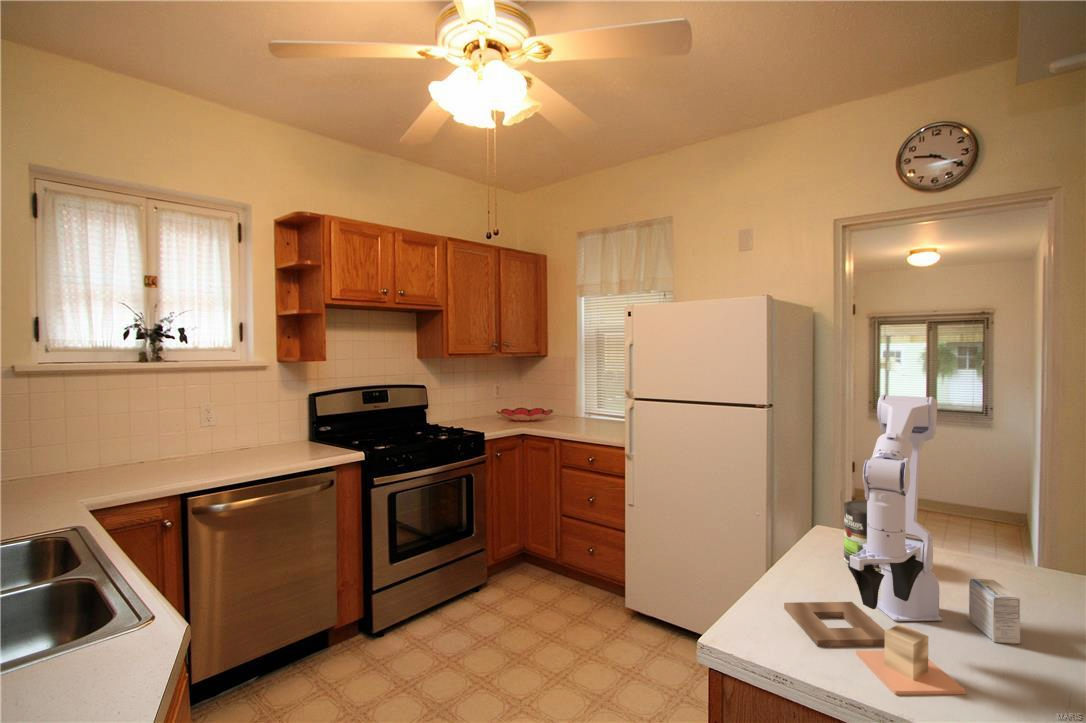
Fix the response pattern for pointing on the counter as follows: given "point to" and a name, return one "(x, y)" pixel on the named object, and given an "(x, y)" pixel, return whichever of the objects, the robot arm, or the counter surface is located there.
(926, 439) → the robot arm
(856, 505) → the coffee can
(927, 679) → the tile
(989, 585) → the medicine box
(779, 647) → the counter surface
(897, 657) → the birch block
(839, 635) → the pocket plate
